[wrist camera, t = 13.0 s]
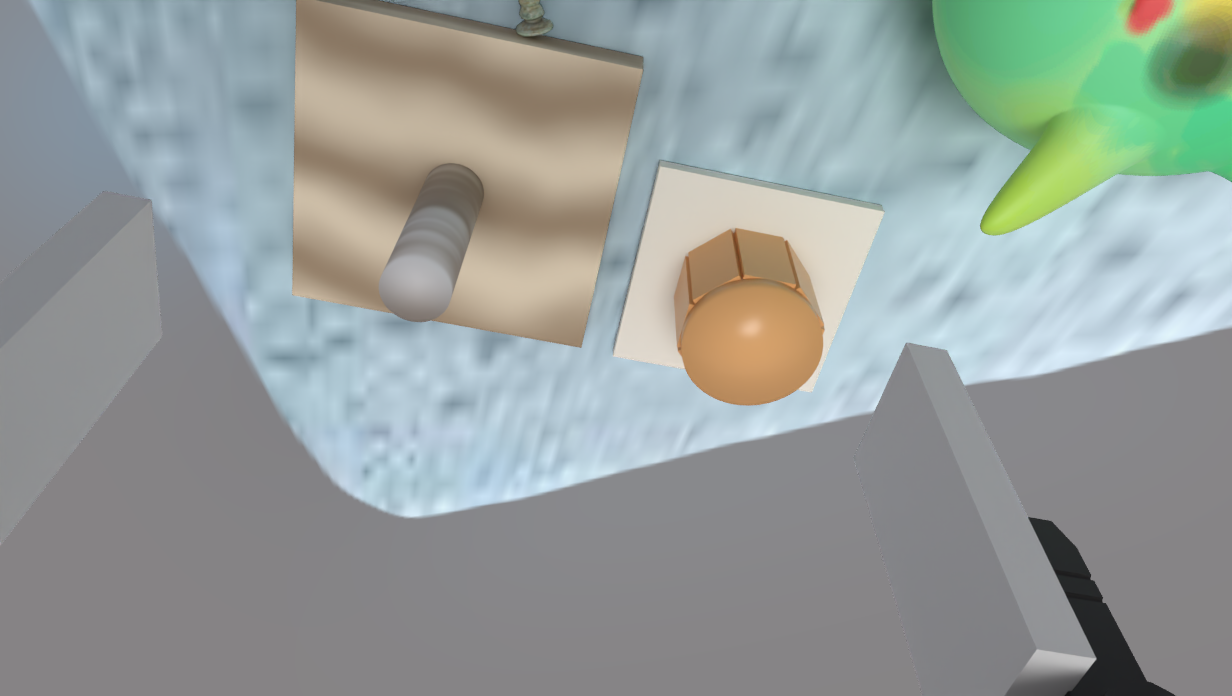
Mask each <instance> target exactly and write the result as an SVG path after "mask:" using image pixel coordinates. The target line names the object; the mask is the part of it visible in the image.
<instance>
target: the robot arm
mask: <svg viewBox="0 0 1232 696" xmlns="http://www.w3.org/2000/svg"><path fill="white" fill-rule="evenodd" d="M161 337H162V326H161V314H160V302H159V289H158V276H157V264H156V252H155V239H154V226H153V214H152V201H151V200H150V199H144V198H139V197H134V196H128V195H123V194H118V193H113V192H107V191H103V192H102V193H101V194H99V195H98V196H97V197H96V198H95V199H94V200H93V201H91V202H90V203H89V204H88V205H87V206H86V207H85V208H83V209H82V210H81V211H80V212H79V213H78V214H77V215H75V216H74V217H73V218H72V219H71V220H70V221H69V222H68V223H66V224H65V225H64V226H63V227H62V228H61V229H60V230H58V231H57V232H56V233H55V234H54V235H53V236H52V237H51V238H49V239H48V240H47V241H46V242H45V243H44V244H43V245H41V246H40V247H39V248H38V249H37V250H36V251H35V252H33V253H32V254H31V255H30V256H29V257H28V258H27V259H25V260H24V261H23V262H22V263H21V264H20V265H19V266H18V267H16V268H15V269H14V270H13V271H12V272H11V273H10V274H8V275H7V276H6V277H5V278H4V279H3V280H2V281H1V282H0V545H1V544H2V543H3V542H4V540H5V539H6V538H7V536H8V535H9V534H10V533H11V531H12V530H13V528H14V527H15V526H16V524H17V523H18V522H19V521H20V520H21V518H22V517H23V515H24V514H25V513H26V512H27V510H28V509H29V508H30V507H31V505H32V504H33V503H34V501H35V500H36V499H37V498H38V496H39V495H40V494H41V492H42V491H43V490H44V489H45V487H46V486H47V485H48V483H49V482H50V481H51V479H52V478H53V477H54V476H55V474H56V473H57V472H58V470H59V469H60V468H61V467H62V465H63V464H64V463H65V461H66V460H67V459H68V458H69V456H70V455H71V454H72V452H73V451H74V450H75V448H76V447H77V446H78V445H79V443H80V442H81V441H82V439H83V438H84V437H85V436H86V434H87V433H88V431H89V430H90V429H91V428H92V426H93V425H94V424H95V423H96V421H97V420H98V419H99V417H100V416H101V415H102V414H103V412H104V411H105V410H106V408H107V407H108V406H109V404H110V403H111V402H112V401H113V399H114V398H115V397H116V395H117V394H118V393H119V392H120V390H121V389H122V388H123V386H124V385H125V384H126V383H127V381H128V380H129V379H130V377H131V376H132V375H133V373H134V372H135V371H136V370H137V368H138V367H139V366H140V364H141V363H142V362H143V361H144V359H145V358H146V357H147V355H148V354H149V353H150V351H151V350H152V349H153V348H154V346H155V345H156V344H157V342H158V341H159V340H160V339H161ZM854 461H855V465H856V468H857V471H858V475H859V478H860V482H861V485H862V489H863V492H864V496H865V499H866V502H867V506H868V509H869V513H870V516H871V520H872V523H873V527H874V531H875V534H876V537H877V541H878V544H879V548H880V551H881V554H882V558H883V562H884V565H885V568H886V572H887V576H888V579H889V583H890V586H891V589H892V593H893V596H894V600H895V603H896V606H897V610H898V613H899V617H900V621H901V624H902V628H903V631H904V634H905V638H906V641H907V645H908V648H909V652H910V655H911V659H912V662H913V666H914V669H915V673H916V676H917V679H918V682H919V686H920V690H921V693H922V696H1175V695H1174V694H1172V693H1170V692H1169V691H1167V690H1165V689H1163V688H1161V687H1159V686H1157V685H1155V684H1153V683H1151V682H1147V680H1146V679H1145V677H1144V675H1143V673H1142V671H1141V669H1140V667H1139V665H1138V663H1137V662H1136V660H1135V658H1134V656H1133V654H1132V652H1131V650H1130V649H1129V646H1128V644H1127V642H1126V641H1125V639H1124V637H1123V635H1122V633H1121V631H1120V629H1119V627H1118V625H1117V623H1116V622H1115V620H1114V618H1113V616H1112V614H1111V612H1110V610H1109V608H1108V606H1107V605H1106V603H1103V602H1102V599H1103V597H1102V595H1101V593H1100V591H1099V589H1098V587H1097V585H1096V584H1095V582H1094V581H1093V580H1090V577H1091V574H1090V572H1089V570H1088V568H1087V566H1086V565H1085V563H1084V561H1083V559H1082V557H1081V555H1080V553H1079V551H1078V549H1077V548H1076V547H1075V545H1074V544H1073V543H1072V542H1071V541H1070V540H1069V539H1068V538H1067V537H1066V536H1065V535H1064V534H1063V533H1062V532H1061V531H1060V530H1059V529H1058V528H1057V527H1056V525H1054V523H1053V522H1051V521H1048V520H1042V519H1036V518H1030V517H1027V515H1026V513H1025V510H1024V508H1023V506H1022V504H1021V502H1020V500H1019V498H1018V496H1017V494H1016V492H1015V490H1014V488H1013V486H1012V484H1011V482H1010V479H1009V477H1008V475H1007V474H1006V471H1005V469H1004V467H1003V465H1002V463H1001V461H1000V459H999V457H998V455H997V453H996V451H995V449H994V447H993V444H992V443H991V440H990V438H989V436H988V434H987V432H986V430H985V428H984V426H983V424H982V422H981V420H980V418H979V416H978V414H977V412H976V409H975V407H974V405H973V403H972V401H971V399H970V397H969V395H968V393H967V391H966V389H965V387H964V385H963V383H962V381H961V379H960V376H959V374H958V372H957V370H956V368H955V366H954V364H953V362H952V360H951V358H950V356H949V354H948V352H947V350H943V349H938V348H933V347H927V346H922V345H917V344H912V343H906V344H905V346H904V348H903V350H902V353H901V355H900V357H899V359H898V361H897V364H896V366H895V368H894V370H893V372H892V375H891V377H890V379H889V381H888V383H887V385H886V388H885V390H884V392H883V394H882V396H881V399H880V401H879V403H878V405H877V407H876V409H875V412H874V414H873V416H872V418H871V420H870V423H869V425H868V427H867V429H866V432H865V434H864V436H863V438H862V440H861V442H860V444H859V447H858V449H857V451H856V453H855V455H854Z"/></svg>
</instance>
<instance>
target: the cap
mask: <svg viewBox="0 0 1232 696" xmlns="http://www.w3.org/2000/svg"><path fill="white" fill-rule="evenodd" d="M688 254H689V257H688V256H685V259H684V262H683V266H682V269H681V273H680V276H679V280H678V284H677V287H676V291H675V294H674V307H675V324H676V341H677V349H678V352H679V354H680V355H681V356H682V360H683V363H684V367H685V369H686V371H687V374H688V375H689V377H690V378H691V380H692V381H693V382H694V383H695V385H696V386H697V387H698V388H700V389H701V390H702V391H703V392H705V393H706V394H708V395H709V396H711V397H713V398H715V399H717V400H720V401H723V402H726V403H731V404H736V405H760V404H765V403H770V402H773V401H776V400H779V399H781V398H784V397H786V396H788V395H790V394H791V393H793V392H795V391H796V390H797V389H799V388H800V387H801V386H802V385H803V384H805V383H806V382H807V381H808V379H809V378H810V377H811V376H812V375H813V373H814V372H815V370H816V368H817V366H818V364H819V362H820V359H821V356H822V351H823V333H824V331H825V329H824V322H823V319H822V316H821V312H820V309H819V306H818V302H817V299H816V296H815V292H814V289H813V286H812V283H811V279H810V276H809V274H808V273H807V271H806V269H805V268H804V266H803V265H802V263H801V261H800V260H799V258H798V257H797V255H796V253H795V252H794V250H793V248H792V247H791V245H790V244H789V242H788V240H786V241H784V239H783V237H779V236H774V235H769V234H764V233H759V232H754V231H749V230H744V229H739V228H736V229H735V232H734V233H733V232H732V230H731V229H729V230H727V231H726V232H724V233H722V234H720V235H718V236H717V237H715V238H713V239H711V240H709V241H708V242H706V243H704V244H702V245H700V246H699V247H697V248H695V249H693V250H692V251H690V252H688Z"/></svg>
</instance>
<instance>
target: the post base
mask: <svg viewBox="0 0 1232 696" xmlns="http://www.w3.org/2000/svg"><path fill="white" fill-rule="evenodd" d="M642 73H643V57H641V56H636V55H632V54H627V53H622V52H618V51H613V50H608V49H604V48H599V47H594V46H590V45H585V44H580V43H576V42H571V41H566V40H562V39H557V38H552V37H548V36H543V35H536V36H527V37H524V36H521V35H518V34H517V32H516V30H515V29H510V28H505V27H501V26H496V25H491V24H487V23H482V22H477V21H473V20H468V19H463V18H459V17H454V16H449V15H445V14H440V13H435V12H430V11H426V10H421V9H416V8H412V7H407V6H402V5H398V4H393V3H388V2H384V1H379V0H296V60H295V135H294V210H293V286H292V295H295V296H300V297H306V298H311V299H317V300H322V301H328V302H333V303H339V304H344V305H350V306H355V307H361V308H366V309H372V310H377V311H383V312H388V313H394V314H395V315H397V316H398V317H400V318H402V319H405V320H408V321H413V322H426V321H430V320H432V321H437V322H443V323H448V324H454V325H459V326H465V327H470V328H476V329H481V330H487V331H492V332H498V333H503V334H509V335H514V336H520V337H525V338H531V339H536V340H542V341H547V342H553V343H558V344H564V345H569V346H575V347H580V348H581V346H582V342H583V337H584V333H585V328H586V324H587V319H588V315H589V310H590V306H591V301H592V297H593V293H594V288H595V284H596V279H597V275H598V270H599V266H600V261H601V257H602V252H603V248H604V243H605V239H606V234H607V230H608V225H609V221H610V216H611V212H612V208H613V203H614V199H615V194H616V190H617V185H618V181H619V176H620V172H621V167H622V163H623V158H624V154H625V149H626V145H627V140H628V136H629V131H630V127H631V122H632V118H633V114H634V109H635V105H636V100H637V96H638V91H639V87H640V82H641V78H642Z"/></svg>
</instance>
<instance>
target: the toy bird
mask: <svg viewBox="0 0 1232 696" xmlns="http://www.w3.org/2000/svg"><path fill="white" fill-rule="evenodd" d="M932 10H933V21H934V28H935V34H936V38H937V43H938V46H939V50H940V53H941V56H942V59H943V62H944V64H945V67H946V69H947V71H948V73H949V76H950V77H951V79H952V81H953V83H954V85H955V86H956V88H957V90H958V91H959V93H960V94H961V95H962V97H963V98H964V99H965V101H966V102H967V103H968V104H969V106H970V107H971V108H972V109H973V110H974V111H975V112H976V113H977V114H978V115H979V116H980V117H981V118H982V119H983V120H984V121H986V122H987V123H988V124H989V125H990V126H992V127H993V128H994V129H996V130H997V131H998V132H1000V133H1001V134H1003V135H1004V136H1006V137H1007V138H1009V139H1011V140H1012V141H1014V142H1016V143H1018V144H1019V145H1021V146H1023V147H1025V148H1027V149H1029V150H1031V151H1030V153H1029V154H1028V155H1027V156H1026V158H1025V159H1024V160H1023V161H1022V163H1021V164H1020V165H1019V167H1018V168H1017V169H1016V170H1015V172H1014V173H1013V174H1012V175H1011V177H1010V178H1009V179H1008V181H1007V182H1006V183H1005V184H1004V186H1003V187H1002V188H1001V190H1000V191H999V192H998V194H997V195H996V197H995V198H994V199H993V201H992V202H991V204H990V205H989V207H988V208H987V210H986V212H985V214H984V216H983V218H982V220H981V224H980V228H981V230H982V232H983V233H985V234H988V235H1002V234H1006V233H1009V232H1012V231H1014V230H1017V229H1019V228H1022V227H1024V226H1026V225H1028V224H1030V223H1032V222H1034V221H1036V220H1038V219H1040V218H1042V217H1043V216H1045V215H1047V214H1049V213H1051V212H1053V211H1054V210H1056V209H1058V208H1060V207H1062V206H1063V205H1065V204H1067V203H1069V202H1070V201H1072V200H1074V199H1075V198H1077V197H1079V196H1081V195H1082V194H1084V193H1086V192H1087V191H1089V190H1091V189H1092V188H1094V187H1096V186H1098V185H1099V184H1101V183H1103V182H1104V181H1106V180H1108V179H1110V178H1111V177H1113V176H1115V175H1116V174H1123V175H1138V176H1166V175H1180V174H1190V173H1198V172H1204V171H1210V172H1213V173H1215V174H1218V175H1220V176H1222V177H1223V178H1225V179H1227V180H1229V181H1231V182H1232V0H932Z"/></svg>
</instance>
